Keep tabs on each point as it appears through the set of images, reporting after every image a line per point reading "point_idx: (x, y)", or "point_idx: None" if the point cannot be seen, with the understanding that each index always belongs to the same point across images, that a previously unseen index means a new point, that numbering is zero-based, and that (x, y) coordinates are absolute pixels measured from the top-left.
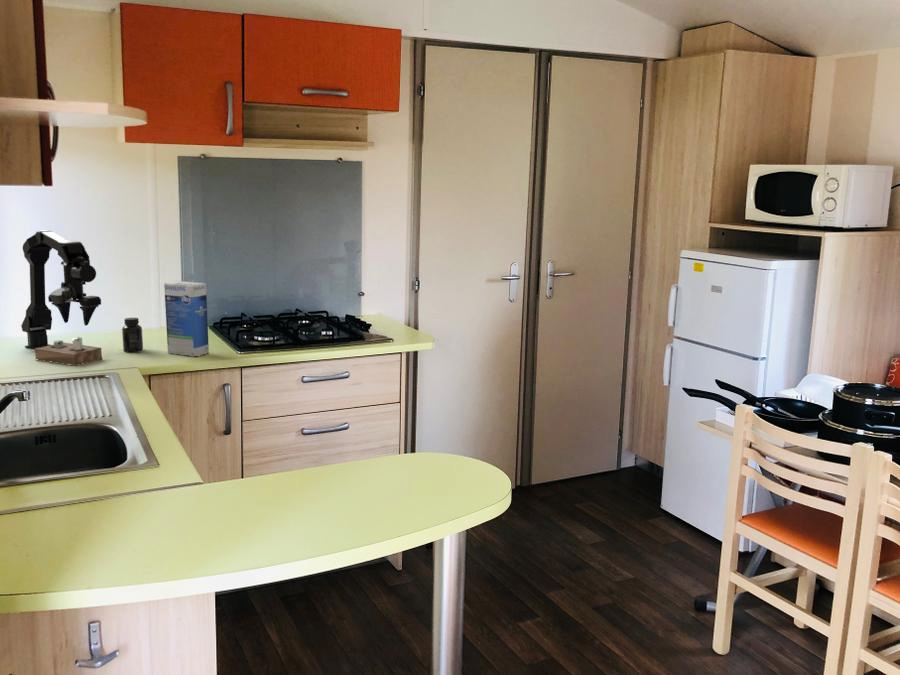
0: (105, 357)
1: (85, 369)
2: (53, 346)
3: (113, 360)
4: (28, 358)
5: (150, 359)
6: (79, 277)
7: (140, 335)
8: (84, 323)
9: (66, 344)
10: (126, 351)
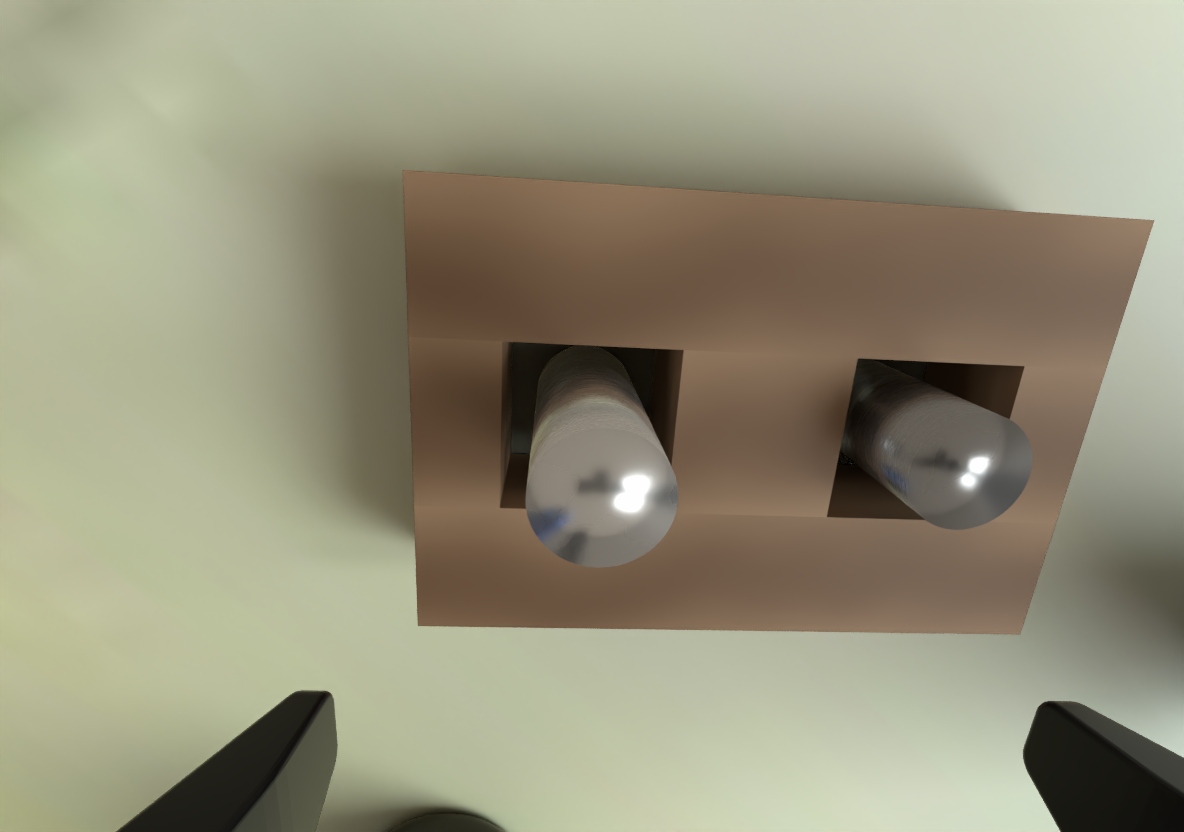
0: None
1: (182, 92)
2: None
3: (293, 554)
4: (1148, 246)
5: (35, 723)
6: None
7: None
8: (287, 724)
9: (913, 574)
10: (445, 816)
